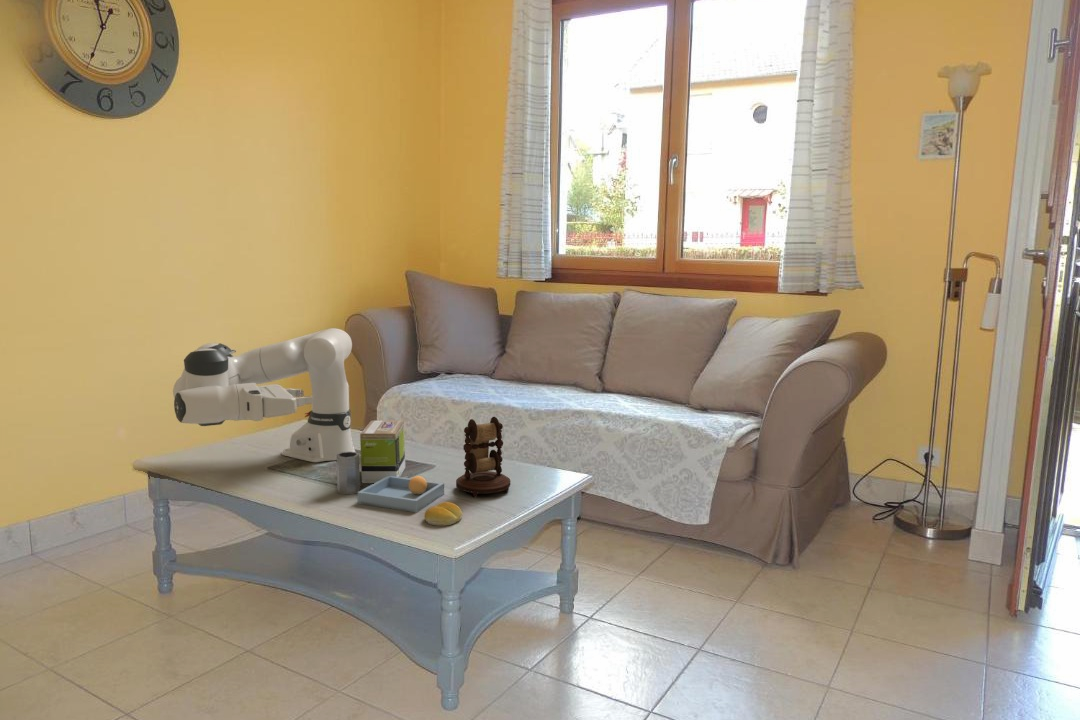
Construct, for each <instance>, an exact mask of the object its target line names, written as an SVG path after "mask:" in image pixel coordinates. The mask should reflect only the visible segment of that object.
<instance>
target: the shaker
mask: <svg viewBox="0 0 1080 720" xmlns="http://www.w3.org/2000/svg"><path fill="white" fill-rule="evenodd" d="M360 478H361V477H360V454H359V453H358V452H357V451H355V452H342V453H339V454H337V460H336V479H337V480H336V481H337V482H336V485H337V487H336V488H337V492H338V494H342V495H351V494H356V492H357V493H358V492H359V491H361V488H360V487H361V486H360V483H361V482H360Z"/></svg>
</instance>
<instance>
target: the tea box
mask: <svg viewBox="0 0 1080 720" xmlns="http://www.w3.org/2000/svg"><path fill="white" fill-rule="evenodd" d="M359 436H360V437H359V440H360V441H359V443H360V462H361V463H360V465H361V467H360V468H361V483H362V484H363V483H376V482H378V481H379V480H381V479H383V478H385V477H387V476H395V477H401V476H402V474H403V473H404V471H405V469H406V450H405V449H406V448H405V447H406V446H405V421H404V420H370V421H369V422H368V424H367V425H366V426H365V427H364V429H363V430H362V432H361V433H359Z"/></svg>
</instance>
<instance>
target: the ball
mask: <svg viewBox="0 0 1080 720" xmlns="http://www.w3.org/2000/svg"><path fill="white" fill-rule="evenodd" d="M410 479H411V480H410V481H409V489H410V491H411V492H412V493H414V494H422V493H423V492H424V491H425V490H426V488H427V482H426V481H427V480H426V479H425V478H424V477H423V476H421V475H415V476H413V477H412V478H410Z"/></svg>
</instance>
